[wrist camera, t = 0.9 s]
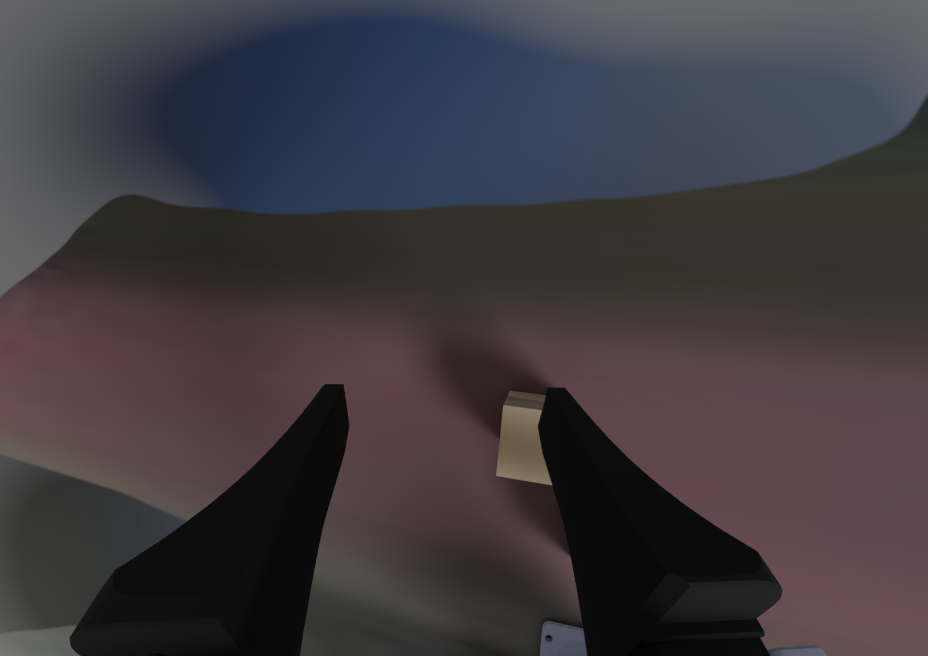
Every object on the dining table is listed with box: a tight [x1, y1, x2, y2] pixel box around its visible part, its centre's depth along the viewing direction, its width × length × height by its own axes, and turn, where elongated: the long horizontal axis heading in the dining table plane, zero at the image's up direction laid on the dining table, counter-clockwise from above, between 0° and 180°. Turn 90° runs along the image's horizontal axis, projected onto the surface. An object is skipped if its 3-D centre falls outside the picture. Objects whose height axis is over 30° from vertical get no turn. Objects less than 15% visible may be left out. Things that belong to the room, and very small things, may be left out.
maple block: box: [496, 390, 552, 485], centre depth 24 cm, size 4×4×7 cm
